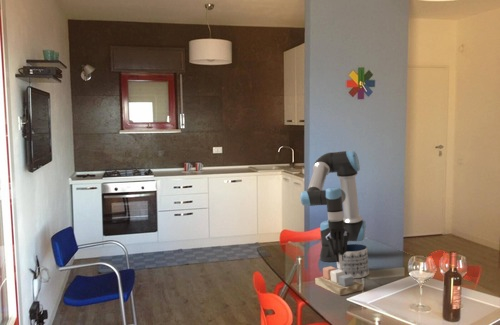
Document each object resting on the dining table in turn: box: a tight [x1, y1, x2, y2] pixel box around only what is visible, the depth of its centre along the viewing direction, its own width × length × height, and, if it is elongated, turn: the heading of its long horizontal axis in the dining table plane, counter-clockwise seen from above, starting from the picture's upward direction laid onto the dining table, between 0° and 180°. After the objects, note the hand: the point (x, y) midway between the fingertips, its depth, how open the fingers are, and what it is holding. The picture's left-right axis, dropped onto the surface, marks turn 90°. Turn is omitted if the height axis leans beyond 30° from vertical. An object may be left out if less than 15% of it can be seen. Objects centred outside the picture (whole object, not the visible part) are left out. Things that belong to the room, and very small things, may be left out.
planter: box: [337, 243, 370, 280], centre depth 249 cm, size 16×16×14 cm
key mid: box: [330, 268, 345, 283], centre depth 231 cm, size 5×5×5 cm
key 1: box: [322, 265, 338, 280], centre depth 238 cm, size 5×5×5 cm
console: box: [314, 276, 364, 296], centre depth 231 cm, size 13×22×3 cm, turn 23°
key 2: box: [338, 275, 354, 287], centre depth 225 cm, size 5×5×5 cm
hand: (340, 268), depth 229 cm, fingers closed
